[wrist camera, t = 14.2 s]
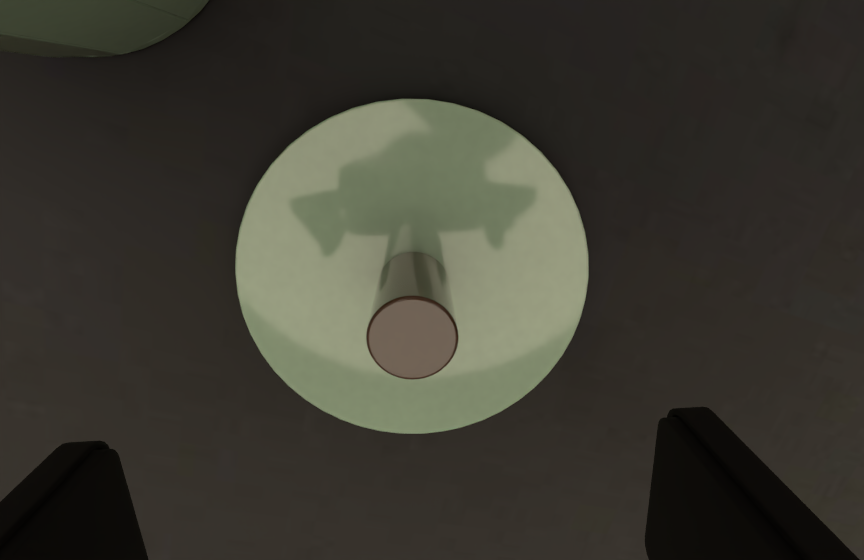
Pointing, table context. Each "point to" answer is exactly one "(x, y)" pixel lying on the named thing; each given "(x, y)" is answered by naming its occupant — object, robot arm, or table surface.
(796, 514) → the robot arm
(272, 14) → the table surface
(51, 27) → the pot
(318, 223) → the lid
